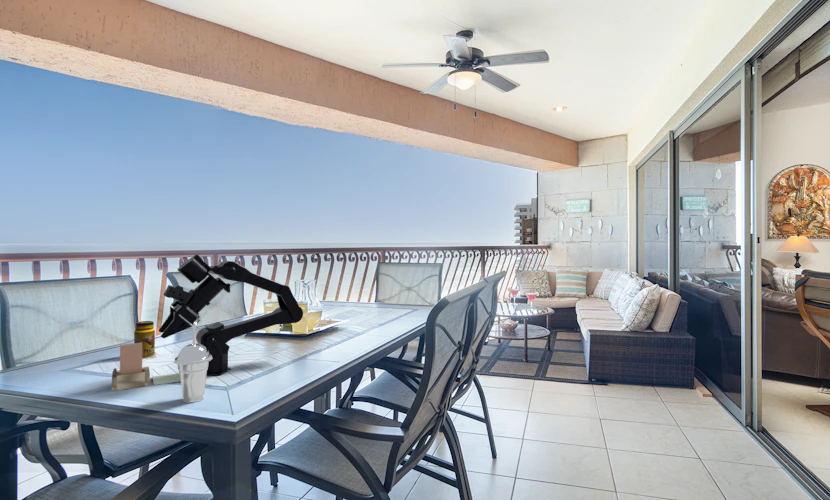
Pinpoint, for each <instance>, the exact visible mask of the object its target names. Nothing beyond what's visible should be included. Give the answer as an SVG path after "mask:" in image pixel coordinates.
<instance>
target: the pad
mask: <svg viewBox="0 0 830 500" xmlns="http://www.w3.org/2000/svg"><path fill="white" fill-rule="evenodd" d="M152 382H153V386H158V385H165V384H172V383H179V382H181V380H180V373H179V372H175V373H168V374H161V375H154V376H153V375H152Z"/></svg>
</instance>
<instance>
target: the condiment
mask: <svg viewBox="0 0 830 500" xmlns="http://www.w3.org/2000/svg"><path fill="white" fill-rule="evenodd" d="M154 324H155V323H154V321H151V320H141V321H137V322H136V323H135V330H134V332H133V334H134V335H133V336H134V337H133V340H134V341H133V343H142V360H143V359H150V358H157V354H156V352H155V351H156V350H155V347H156V345H155V344H156V343H155V341H156V334H155V333H156V329H155V328H154V327H155V326H154Z"/></svg>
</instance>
